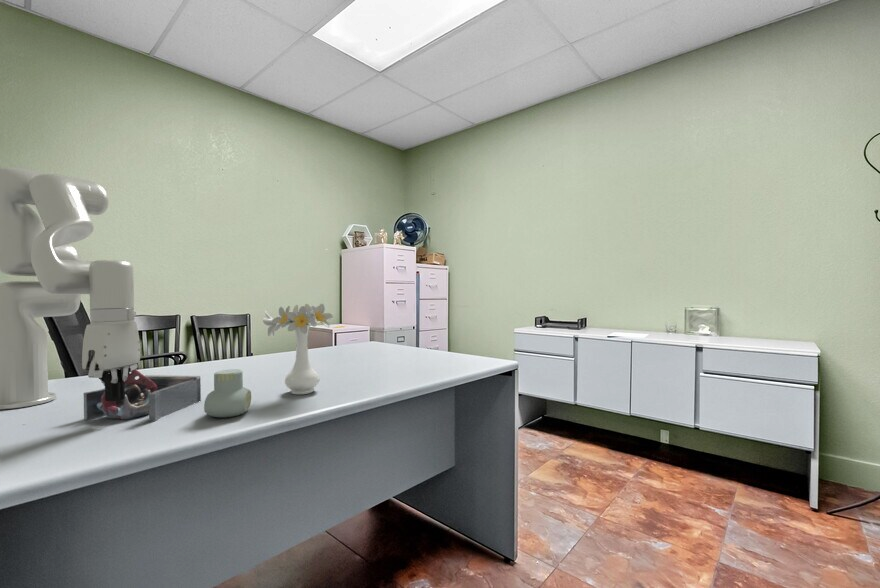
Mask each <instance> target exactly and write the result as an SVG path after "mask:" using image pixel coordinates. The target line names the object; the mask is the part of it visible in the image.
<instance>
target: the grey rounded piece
mask: <svg viewBox="0 0 880 588" xmlns="http://www.w3.org/2000/svg"><path fill="white" fill-rule="evenodd" d="M243 377H244V376H243V370H241V369H234V368H231V369H230V368H229V369H222V370H218V371H215V372H214V373H213V390H211V391H210V392H209V393H207V395H206V397H205V399H204V404H203V405H204V406H203V409H204V412H205V414H207V415H209V416H210V417H214V418H220V417H221V418H223V417H224V418H231V417H237V416H241V415H242V414H244V413H246V412H247V411H248V410H249V409H250V406H251V402H252V392H251V390H250V389H249V388H247V387H244V384H243V381H244V379H243ZM240 414H241V415H240ZM221 418H220V419H221Z"/></svg>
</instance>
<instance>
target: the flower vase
mask: <svg viewBox="0 0 880 588" xmlns="http://www.w3.org/2000/svg"><path fill="white" fill-rule="evenodd" d="M290 309H291V307H290V305H288V306H287V307H286V309H284V307H283V306H280V307H279V308H278V315H279V316H277V317H275V318H273V317H272V316H271V315H270V314H269V313H268V311H267V310H264V314H265V316H266V317H264V318H262V322H263V323H264V325H266V326H268V328H267V336H268V337H270V336H271V335H272V336H275V332H277V331H278V330H279V329H280V328H286V327H287V326H288V327H287V331H288V332H293V331H294V332H295V338H296V343H295V344H296V348H295V349H296V350H295V351H296V352H295V361H294V364H293V367H292V368H291V369H290V371H289V372H288V373H287V374H286V376H285V378H284V384H285V387H286V388H287V389H289V390H290V393H291V394H292V395H297V396H299V395H306V394H312V393H313V392H314V391H315V389H314V388H316V387H317V385H318V384H319V382H320V379H321V378H320V375H319V373H318V372H317V371H316V370H315V368H313V366H312V365H311V362H310V359H309V349H308V345H309V344H308V336H309V330H310V328H311V326H312V327H313V328H314V327H316V326H317V324H319V323H321V324H322V325H323V326H325V327H326V328H330V326H331V325H330V323H329V321H327V320H332V319H333V318H334V315H333V314H331V313H329V312H325V310H326V307H325V304H324V303H320V304H319V305H317V306H315V305H311V306H310V305H309V304H308V303H305V304H304V305H302V306H300V307H299V305H298V304H295V306H294V307H293V309H292V312H291V311H290Z"/></svg>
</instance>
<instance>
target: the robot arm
mask: <svg viewBox="0 0 880 588" xmlns="http://www.w3.org/2000/svg"><path fill="white" fill-rule="evenodd" d="M109 202H110V201H109V196H108V192H107V191H106V189H105V188H104V187H103V186H102V185H101V184H99V183H97V182H95V181H91V180H85V179H81V178H76V177H72V176H67V175H62V174H55V173H45V172H41V171H35V170H30V169H24V168H19V167H13V166H12V167H11V166H10V167H8V166H2V167H0V272H1V273H3V274H4V275H5V274H6V275H10V276H17V277H18V276H19V277H36V278H37V280H38V281H37V280H36V281H35V280H33V281H31V280H30V281H28V280H27V281H24V280H19V281H17V280H15V281H12V280H11V281H4V282H0V410H11V409H19V408H25V407H31V406H36V405H41V404H44V403H45V404H47V403H49V402H51V401H54V400H55V399H57V394H56V393H55V392H49V371H48V370H49V369H48V367H49V366H48V335H47V332H46V330H45V329H44V328H43V326H42V325H41V324H40V323H38V322H37V321H36V320H35V318H51V317H66V316H71V315H73V314H75V313H77V311H79V308H80V305H81V297H82V296H81V295H89V317H90V323H89V324H86V327H85V329H84V334H83V341H82V350H81V367H82V370H84V371H85V372H86V371H87V372H88V374H87V377H88V378H93V379H98V380H100V381H101V383H102V384H103V383H105V386H104V388H105V400H106V401H120V400H123V399H125V382H124V381H126V380H127V377H128V374H129V373H131V372H130V371H132V370H134V369H136V370H137V369H138V368H139V367H138V366H139V365H138V363H139V362H140V360H141V343H140V335H139V329H138V324H137V321H135V316H136V314H137V312H136V310H135V289H134V288H135V287H134V286H135V285H134V284H135V283H134V266H133V265H132V263H130V262H129V261H125V260H118V259H117V260H116V259H98V260H94V261H92V260H81V258H80V254H79V251H78V250H77V249H76V248H75V247H74V246H73V245H71V244H73V243H77V242H79V241H82V240H85V239H86V238H88V237H89V236H90V235H91V234H93V232H94V227H95V225H94V223H93V220H92V219H91V216H90V215H92V216H100V215H103V214H104V213H105V212H107V210H108V208H109ZM30 205H32V206H35V207H36V210H37V213H38V214H37V213H36V212H35V211H34V210H33V209H32V207H30Z"/></svg>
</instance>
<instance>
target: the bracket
mask: <svg viewBox="0 0 880 588" xmlns="http://www.w3.org/2000/svg"><path fill="white" fill-rule="evenodd" d="M144 376H146V377H147V378H148V379H150V380H151V381H153V382H154V383H155V384H156V385H157V391H154V392H152V393H151V394H149V414H148V421H149V422H156V421H158V420H159V419H161V418H162V417H164V416H169V414H172V413H175V412H177V411H180V410H182V409H186V408H188V407H189V406H192V405H194V403H195V404H197V403H200V402H201V401H202V398H201V397H202V393H201V385H202V384H201V375H163V374H161V375H160V374H159V375H156V374H155V375H153V374H151V375H150V374H145V375H144ZM143 382H145V380H143ZM136 385H137V386H138V387H139V388H140V391H141V393H143V390H144V389H145V388H146V387H145V386H144V385H140V384H136ZM152 390H153V389H152ZM104 392H105V387H104V388H102V389H101V388H100V389H97V390H91V391H87V392H83V420H85V421H89V420H94V419H98V418H102V417H104V416H107V415H106V414H105V413H104V412H103V411H101V410H100V409H99V408H98V407H97V404H98V403H100V402H102V401H101V397H102V395H103V394H104ZM199 401H200V402H199Z"/></svg>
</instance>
